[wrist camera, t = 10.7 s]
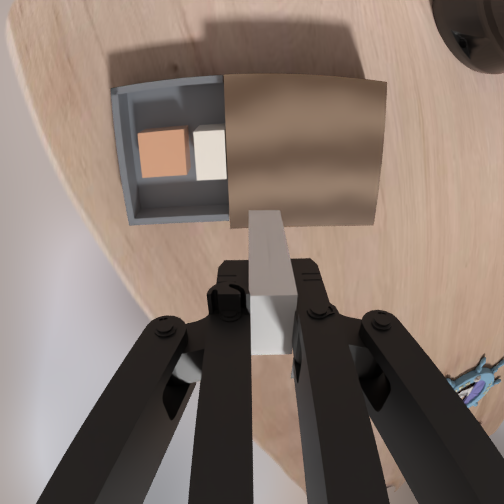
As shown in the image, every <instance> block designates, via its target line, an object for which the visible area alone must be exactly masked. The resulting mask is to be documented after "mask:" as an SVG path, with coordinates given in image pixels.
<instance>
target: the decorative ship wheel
mask: <svg viewBox="0 0 504 504" xmlns="http://www.w3.org/2000/svg"><path fill="white" fill-rule="evenodd" d="M485 362H486V357H484V358H482V359H481V361H480V364H479V365H478V366H477V367H476V369H475V370H473V371H470V372H468V373H467V374H465V375H463V376H461V377H460V378H458V379H456V380H455V381H451V379H449V378H446V379H447V381H448V382H449V383H450V385H451V386H452V387H453V389H454V390H455V391H456V392H458V391H459V390H460V389H462V388H464V387H465V386H467V385H469V384H471V383H473V382H475V384H474V386H473V387H470V388H468V389H466V390H463V391H461V392H460V393H459V394H458V395H459V396H460V398H462V397H463V396H465V395H467V396H466V397H465V399H464V400H463V402H464V403H465V404H466V406H467V407H468V408H469V407H471V406H473V405H474V406H477V405H478V403H477V402H478V401H479V400H480V399H481V398H482V397H483V396H484V395H485V394H486V393H487V392H488V391H489V389H490V388H491V387H492V386H494V384H499V383H500V382H501V379H497V380H495V381H494V375H493V374H494V373H495V372H497V370H498V368H499V367H501V366H503V365H504V359H503V360H501V361H500V362H499V364H498V365H497V366H494V367H493V368H491V369H489V368H482V366H483V365H484V364H485ZM467 393H468V394H467Z"/></svg>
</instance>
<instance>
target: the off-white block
mask: <svg viewBox="0 0 504 504" xmlns="http://www.w3.org/2000/svg"><path fill="white" fill-rule="evenodd" d="M193 136H194V150H195V163H196V176H197V180H217V179H227V173H228V171H227V149H226V125H225V124H207V125H199V126H198V127H197V128H196V129H195V131H194V132H193Z"/></svg>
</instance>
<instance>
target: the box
mask: <svg viewBox="0 0 504 504" xmlns="http://www.w3.org/2000/svg"><path fill="white" fill-rule="evenodd" d="M111 101H112V112H113V121H114V130H115V139H116V147H117V154H118V162H119V169H120V175H121V182H122V188H123V194H124V200H125V205H126V211H127V216H128V221H129V225H147V224H166V223H187V222H210V221H229V216H230V211H229V192H228V173H227V179H217V180H197V176H196V163H195V150H194V136H193V132H194V131H195V129H196V128H197V127H198V126H199V125H207V124H225V98H224V75H214V76H200V77H188V78H178V79H169V80H161V81H153V82H146V83H140V84H133V85H127V86H121V87H116V88H111ZM185 125H188V131H189V148H190V162H191V168H190V170H189V172H188V174H187V175H178V176H162V177H148V178H142V171H141V162H140V153H139V144H138V133H139V132H141V131H143V130H145V129H151V128H161V127H172V126H185Z"/></svg>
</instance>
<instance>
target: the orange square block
mask: <svg viewBox="0 0 504 504" xmlns="http://www.w3.org/2000/svg"><path fill="white" fill-rule="evenodd" d="M138 144H139V153H140V162H141V171H142V178H148V177H162V176H178V175H187V174H188V172H189V170H190V168H191V162H190V148H189V131H188V125H185V126H172V127H161V128H151V129H145V130H143V131H141V132H139V133H138Z"/></svg>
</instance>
